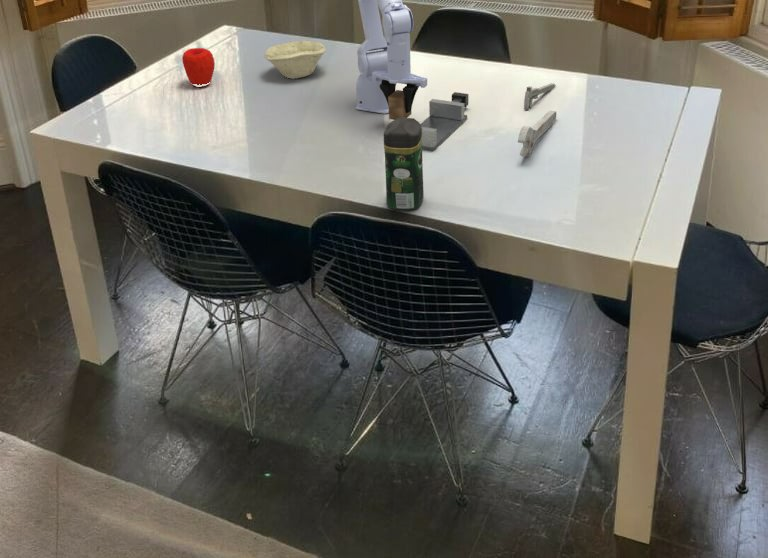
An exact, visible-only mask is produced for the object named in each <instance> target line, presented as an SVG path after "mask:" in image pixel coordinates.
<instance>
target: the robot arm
mask: <svg viewBox="0 0 768 558" xmlns="http://www.w3.org/2000/svg"><path fill="white" fill-rule="evenodd" d="M357 1H358V6H359V7H358V8H359V12H360V18H361V22H362V28H363V33H364V39H365V40H364V41H363V42H362V43H361V44H360V46H359V47H358V48H357V50H356V51H357V53H356V55H357V67H358V72H359V73H360V74H359V75H358V77H357V79H356V84H355V91H356V95H355V96H356V107H355V110H359V111H363V112H364V111H365V112H372V113H378V114H389V103H388V97H389V96H390V95H391V94H392V93H394V92H395V91H396V86H397V84H401V85H403V84H404V85H405V86H404V87H403V88H402V91H403V93H404V97H405V111H406V113H409V112H410V111H411V112H412V109H413V102H414V101H415V100H414V99H415V97H416V95H417V94H416V93H418V89H419V88H426V87H427V86H428V77H424V76H423V77H422V76H420V75H416V74H413V73H412V72H411V71H412V70H411V69H412V68H411V34H410V33H412V32H413V30H414V28H415V27H414V26H415V25H414V24H415V23H414V17H413V13H412V10H411V9H410V8H409V7H408V6H407V5H406V4H404V2H403V0H357ZM380 13H381V15H382V20H381V15H380Z"/></svg>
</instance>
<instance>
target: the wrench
mask: <svg viewBox="0 0 768 558" xmlns="http://www.w3.org/2000/svg"><path fill="white" fill-rule="evenodd" d="M556 121H557V111H556V110H548V111H547V112H546V113H545V115H543V117H541V118H540V119H539V120H538V121H537V122H536V123H535V124H534V125H533V126H532V127H531V126H524V125H523V126H522V127H521V128H520V130H519V133H518V134H519V135H518V139H517V143H520V144H522V147H521V149H520V151H519V156H520V157H531V155H532V151H533V148H534V145H535V144H536V141H537V140H538V139H539V138H540V137H541V136H542V135H543V134H544V133H545V132H546V131H547V130H548V129H550V127H551V126H552V125H553V124H554V123H555V122H556Z"/></svg>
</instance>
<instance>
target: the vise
mask: <svg viewBox="0 0 768 558" xmlns="http://www.w3.org/2000/svg"><path fill="white" fill-rule="evenodd" d="M467 120H468V115H467V114H464V118H463V119H462V120H455V119H449V118H442V117H435V116H430V115H429V116H428V117H427V118H426V119H424V120H423V121H422V122H421V123H420V124H421V127H422V151H423V150H424V151H429V152H434V151H435V150H436V149H437V148H438V147H439V146H441V145H442V144H443V143H444V142H445V141H446V140H447V139H448V138H449V137H450V136H451V135H452V134H453V133H455V131H456V130H457V129H458V128H459V127H461V126H462V125H463V123H465V122H466V121H467Z"/></svg>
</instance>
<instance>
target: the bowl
mask: <svg viewBox="0 0 768 558" xmlns="http://www.w3.org/2000/svg"><path fill="white" fill-rule="evenodd" d="M325 52H327V49H326V47H325V45H324V44H322V43H321V42H319V41H317V42H315V41H311V40H298V41H297V40H295V41H289V42H284V43H283V42H282V43H278V44H274V45H272V46H270V47H269V48H267V49H266V50H265V51H264V54H263V57H264V58H265V60H266V61H268V62H269V63H271V64H272V66H274V67H275V68H276V69H277V70H278V71H279V72H280V73H281V75H282V76H283V77H284V76H285V77H284V78H286V77H287V78H286V79H288V78H292V79H291V80H295V78H296V79H300V78H304V77H305V78H306V77H307V76H310V75H312V74H313V73H314V71H315V69H316V67H317V64H318V62H319V61H320V60H321V58H322V56H323V55H324V53H325Z"/></svg>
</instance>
